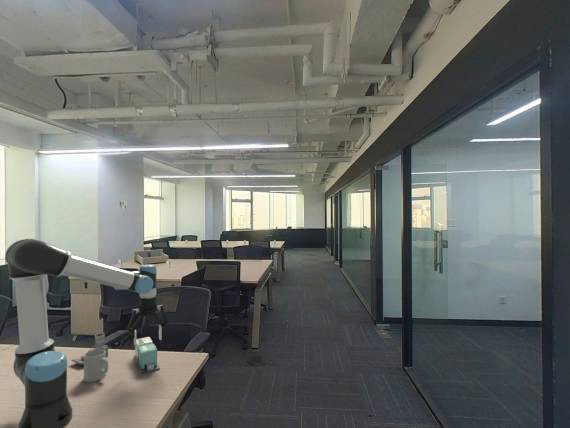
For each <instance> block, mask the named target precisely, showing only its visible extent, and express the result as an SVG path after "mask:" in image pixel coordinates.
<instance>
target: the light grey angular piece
mask: <svg viewBox="0 0 570 428" xmlns="http://www.w3.org/2000/svg"><path fill="white" fill-rule="evenodd" d="M150 344H154V343H153V340H152V339H151V337H150V336H145V337H141V338H136V345H134V355H133V358H134V361H135V362H136V364H137V366H138V369H139V372H140V374H141V375H145V374H148V373H151V372H155V371H160V370H161V369H160V366H159V364H158V363H157V365H156V366H154V364H153V363H150V364H146V365H145V368H144V369H141V367H140V365H139V347H141V346H145V345H150Z"/></svg>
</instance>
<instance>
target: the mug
mask: <svg viewBox="0 0 570 428" xmlns="http://www.w3.org/2000/svg"><path fill="white" fill-rule="evenodd" d="M88 351H89V350H88ZM88 351H87V352H86V353H84V354H83V355H84V364H83V381H84V382H87V383H93V382H97V381H101V380H102V379H104V378H105V377H106V376H107V375H106V374H107V373H108V371H109V361H108V359H107V356H106V351H105V350H103V349H98V350H92V351H89V352H88Z"/></svg>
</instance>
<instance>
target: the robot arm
mask: <svg viewBox="0 0 570 428" xmlns="http://www.w3.org/2000/svg"><path fill="white" fill-rule="evenodd" d="M4 255H5V256H4V257H5V258H4V259H5V261H6V263H7V267H8V276H9V277H8V278H9V279H10V280H12V281H13V282H14V284H15V298H16V310H17V322H18V324H17V325H18V337H19V345H18V346H17V347H16V348H15V349H14V356H15V357H14V360H13V372H14V375H15V376H16V377H17V378H18V379H19V380H20V382H21V383H22V384H23V386H24V390H25V391H24V395H25V396H24V398H25V399H24V403H25V406H24V407H25V408H24V409H23V413H22V415H21V417H20V420H19V424H18V428H64V427H65V426H66V425H67V424H68V423H70V421H71V420H72V418H73V407H72V404H71V402H70V400H69V398H68V394H67V389H68V387H67V385H68V383H67V382H68V379H67V378H68V370H67V369H68V360H67V355H66V353H64V352H62V351H59V350H58V351H55V340H54V339H52V338H50V336H49V322H48V309H47V294H46V282H45V281H46V280H45V278H46V276H52V277H60V276H65V277H69V278H75V279H78V280H83V281H86V282H92V283H96V284H100V285H104V286H108V287H109V286H110V287H112V288H114V290H115V291H119V290H121V291H122V290H126V291H129V292H134V293H137V294H139V307H138V308H132V310H131V311H132V314H131V316H130V319H129V322H128V325H127V329H126V330H127V332H131V334H130V336H131V339H133V346H135V345H136V339H137V328H138V326H139V325H140V323H141V322H142V320H143V318H144V317H145V318H147V317H151V316H154V319H156V320H157V322H158V323H159V324H160V325H158V339H159V341H162V339H163V338H162V333H164V331H165V325H167V324H168V319H167V317H166V314H165V311H164V305H163V304H159V305H157V274H158V272H157V267H156V265H155V264H144V265H140V266H139V269H138V270H133V271H129V270H126V269H121V268H118V267H116V266H115V267H114V266H112V265H107V264H104V263H101V262H97V261H94V260H89V259H86V258H83V257H79V256H75V255H72V254H71V252H70V251H68V250H64V249H62V248H59V247H56V246H54V245H51V244H49V243H47V242H45V241H43V240H38V239H35V238H26V239H25V238H24V239H20V240H17V241H15V242H13V243H11V244H10V245H9V246H8V248H7V249H6V250H5V254H4ZM157 310H158V311H159V312H160V316H161V318H162V319H161V318H160V317H159V316H158V314H157V313H156V311H157ZM138 312H139V316H138V317H137V319H136V316H137V315H138ZM135 319H136V321H135ZM162 320H163V321H162Z"/></svg>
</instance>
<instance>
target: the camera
mask: <svg viewBox="0 0 570 428" xmlns="http://www.w3.org/2000/svg"><path fill="white" fill-rule="evenodd" d="M105 337H106V336H105V333H104V332H103V333H102V332H101V333H97V334H95V335H94V341H95V347H94V348H92V349H89V350H88V351H87V352H89V351H92V350H98V349H103V350H105V351H106V357H107V356H109V346H108V345H106V344H105ZM84 355H85V354H83V355H81V356H80V357H79V358H73V359H71V362H73V363H76V364H78V365H80V366H81V365H84Z"/></svg>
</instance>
